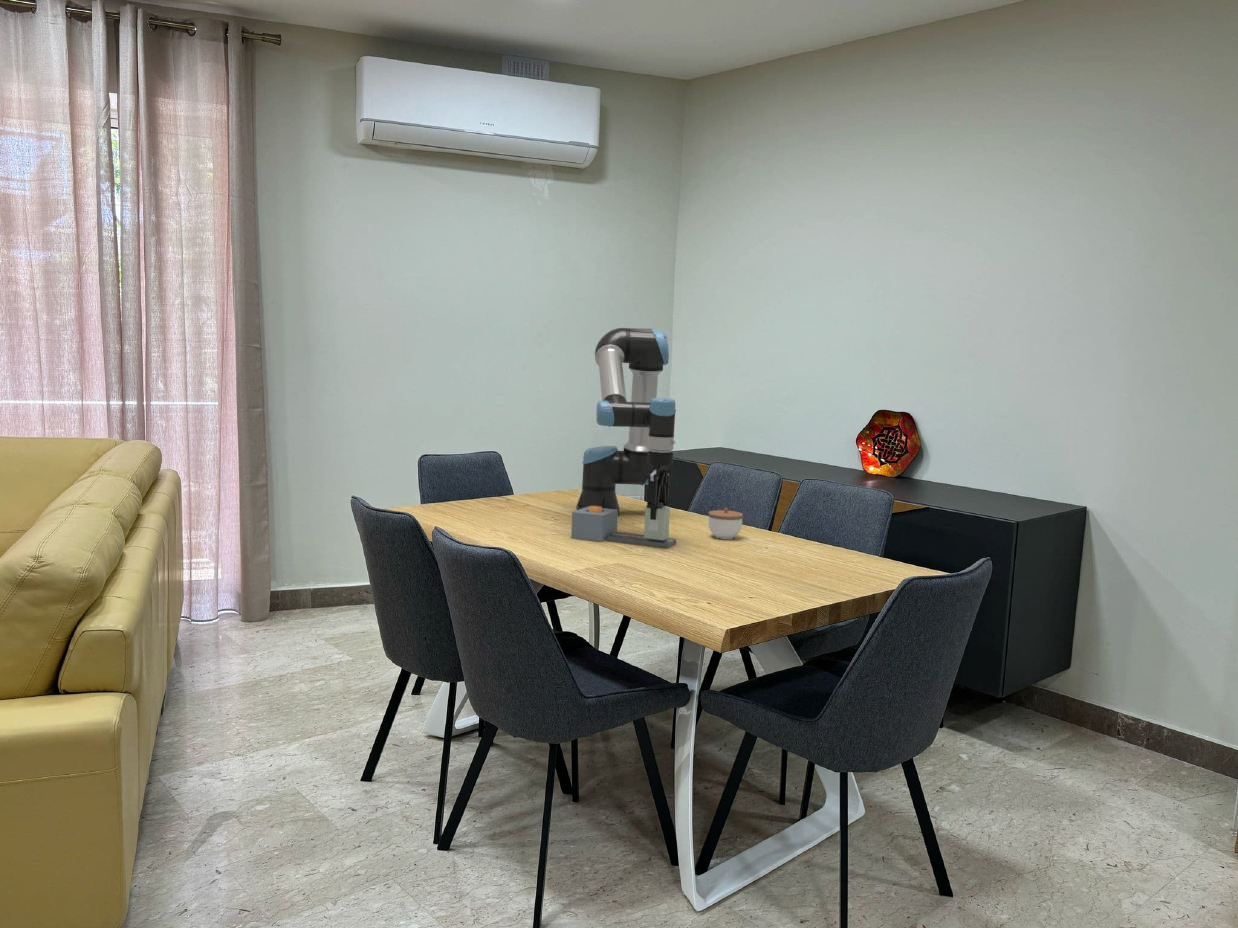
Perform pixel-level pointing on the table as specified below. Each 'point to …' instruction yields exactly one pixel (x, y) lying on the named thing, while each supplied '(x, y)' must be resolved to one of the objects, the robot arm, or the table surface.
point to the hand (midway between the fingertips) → (656, 528)
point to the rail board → (640, 540)
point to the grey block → (594, 524)
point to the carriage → (663, 523)
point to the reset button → (595, 509)
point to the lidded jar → (725, 523)
